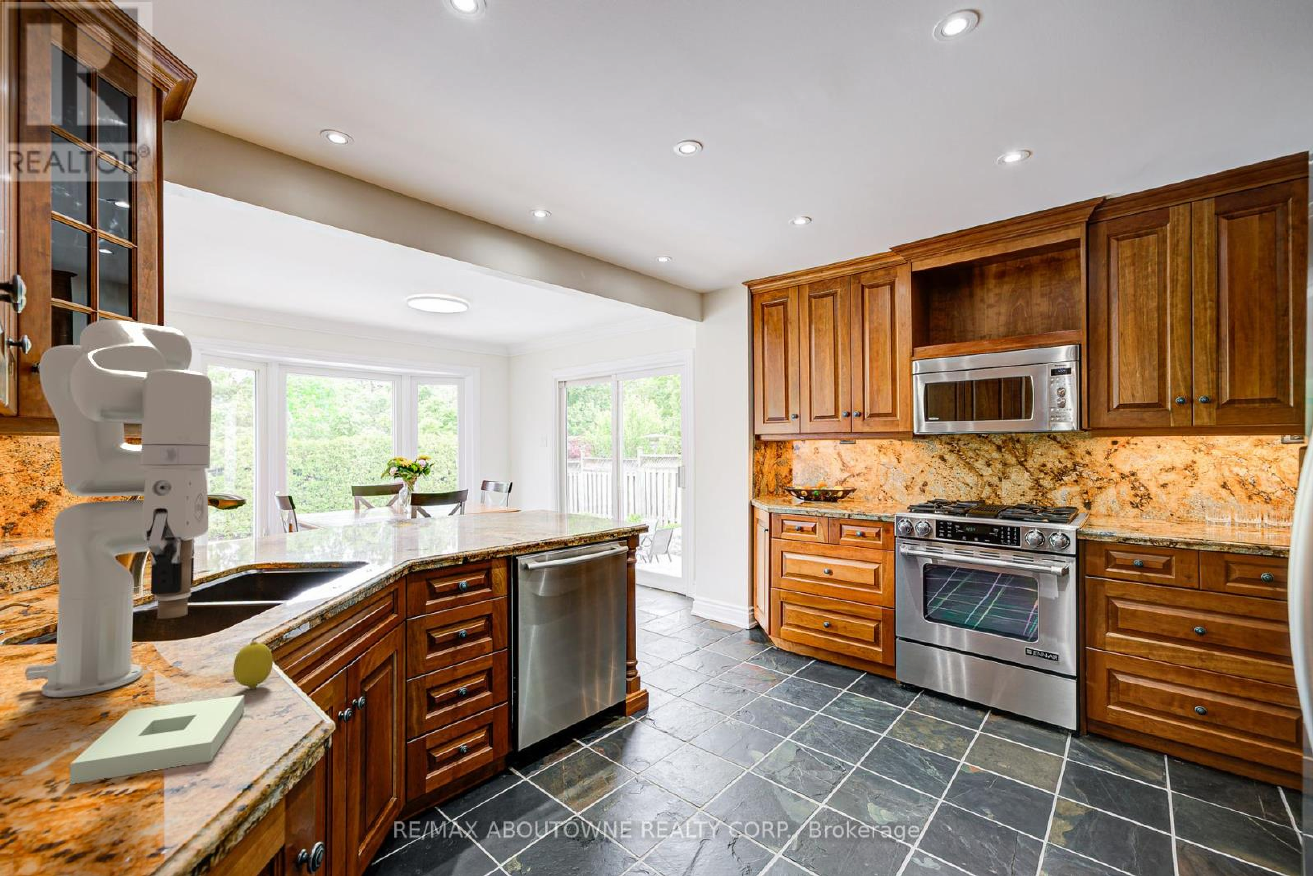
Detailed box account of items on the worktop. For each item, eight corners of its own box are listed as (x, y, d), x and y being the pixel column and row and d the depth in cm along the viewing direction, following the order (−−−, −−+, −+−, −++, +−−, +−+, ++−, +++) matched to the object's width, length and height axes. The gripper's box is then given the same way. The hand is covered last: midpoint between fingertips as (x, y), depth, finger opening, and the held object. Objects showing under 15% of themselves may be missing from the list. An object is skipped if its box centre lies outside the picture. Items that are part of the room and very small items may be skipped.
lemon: (237, 685, 100) (238, 638, 101) (275, 680, 103) (276, 635, 103) (228, 697, 95) (229, 648, 96) (268, 692, 98) (269, 644, 98)
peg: (149, 620, 78) (151, 538, 79) (160, 613, 82) (162, 535, 82) (184, 617, 80) (186, 537, 80) (194, 610, 83) (196, 533, 84)
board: (69, 784, 70) (70, 763, 70) (129, 727, 85) (130, 710, 85) (210, 761, 75) (211, 742, 76) (243, 711, 90) (244, 695, 90)
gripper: (188, 458, 75) (184, 600, 75) (226, 458, 91) (223, 576, 90) (114, 458, 72) (109, 606, 72) (166, 458, 88) (162, 580, 87)
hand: (172, 588), depth 81 cm, fingers closed on peg, 3 cm apart
